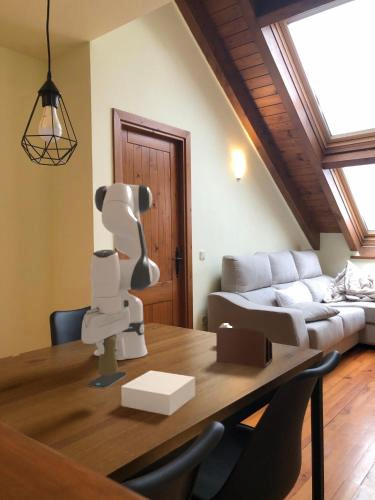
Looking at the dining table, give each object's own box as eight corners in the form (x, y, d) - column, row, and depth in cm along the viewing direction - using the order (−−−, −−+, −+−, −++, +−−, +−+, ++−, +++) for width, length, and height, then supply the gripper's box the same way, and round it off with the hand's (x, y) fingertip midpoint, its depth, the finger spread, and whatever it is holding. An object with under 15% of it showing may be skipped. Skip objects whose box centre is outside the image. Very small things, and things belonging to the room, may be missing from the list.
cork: (113, 376, 120) (112, 338, 119) (94, 374, 121) (93, 337, 120) (121, 369, 125) (120, 333, 125) (103, 368, 127) (102, 332, 126)
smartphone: (85, 384, 136) (109, 370, 150) (85, 387, 136) (109, 372, 150) (105, 386, 134) (128, 372, 148) (105, 389, 134) (128, 374, 148)
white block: (121, 407, 119) (121, 386, 119) (150, 388, 134) (150, 370, 134) (169, 416, 112) (169, 395, 112) (195, 396, 126) (195, 377, 126)
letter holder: (265, 368, 152) (265, 330, 152) (215, 361, 161) (215, 326, 160) (272, 360, 161) (272, 324, 160) (225, 355, 170) (224, 321, 169)
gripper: (94, 312, 111) (95, 362, 112) (132, 300, 130) (133, 343, 131) (75, 310, 114) (76, 360, 115) (115, 299, 133) (116, 341, 133)
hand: (107, 351), depth 123 cm, fingers closed on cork, 4 cm apart
